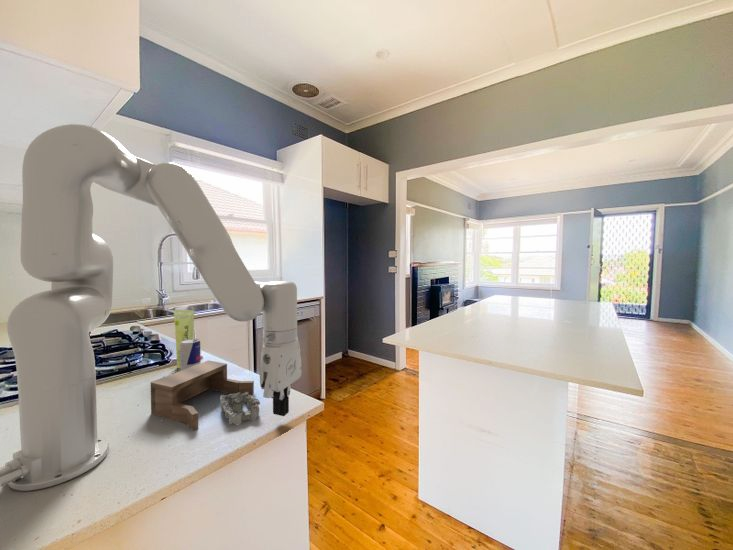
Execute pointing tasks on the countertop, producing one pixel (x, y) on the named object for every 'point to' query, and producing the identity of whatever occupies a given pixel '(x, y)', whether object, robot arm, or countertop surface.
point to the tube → (183, 328)
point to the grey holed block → (239, 407)
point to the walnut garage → (192, 390)
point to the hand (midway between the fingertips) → (280, 413)
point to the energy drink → (189, 353)
